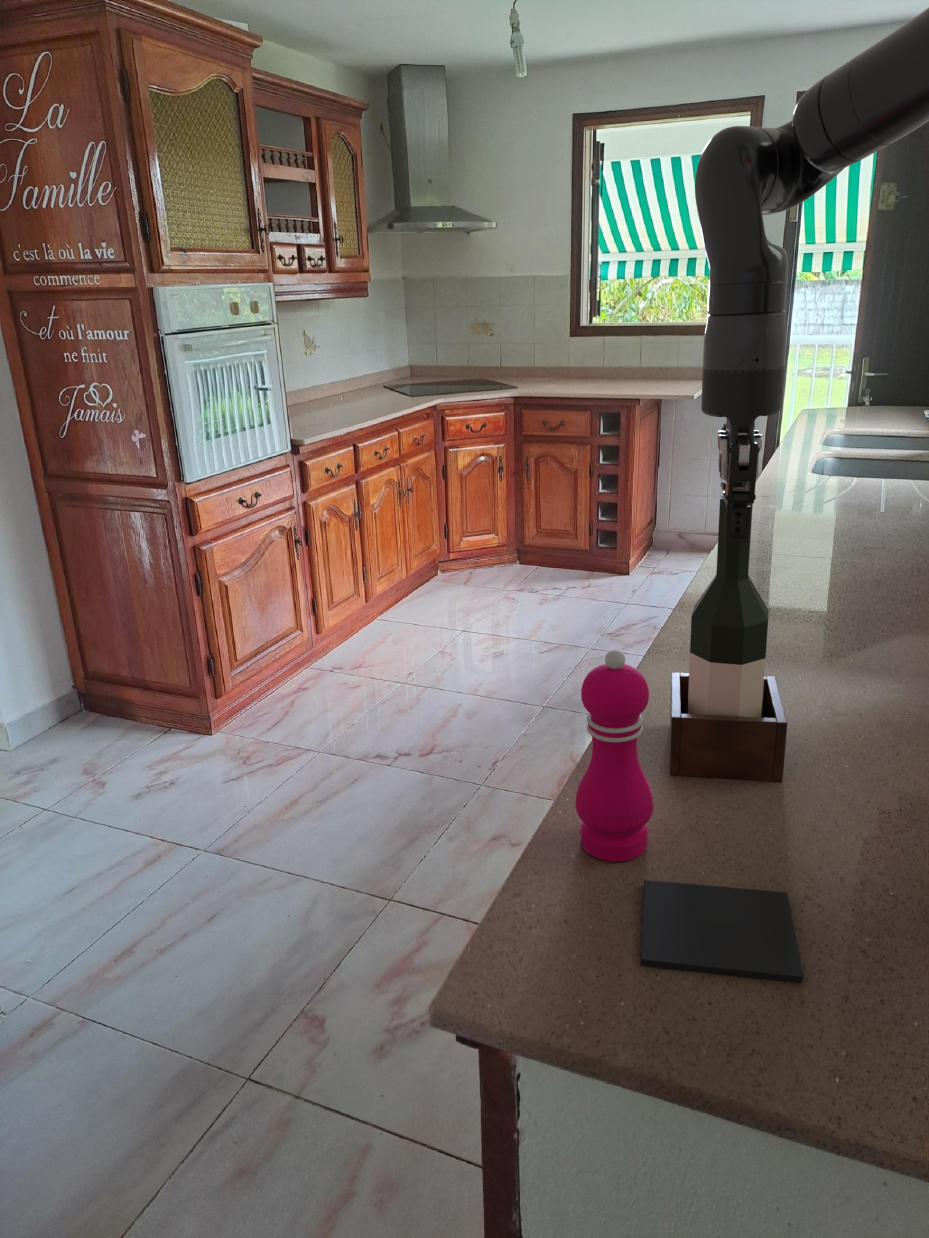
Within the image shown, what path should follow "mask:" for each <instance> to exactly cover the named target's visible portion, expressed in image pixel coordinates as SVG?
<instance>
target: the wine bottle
mask: <svg viewBox="0 0 929 1238" xmlns="http://www.w3.org/2000/svg"><path fill="white" fill-rule="evenodd" d="M733 491H747V488H744V487H734V489H733ZM724 492H725V495H723V494H722V495H720V498H719V511H718V512H719V513H718V532H717V551H716V552H717V553H716V571H715V572H716V574H715V575H714V577H713V579H712V580H711V581H710V583H709V585H708V586H707V588H705V590H704V592H703V593H702V594H701V596H699V599H698V600H697V601H696V603H695V604H694V606H693V609H692V613H691V615H690V616H691V619H690V642H689V643H690V644H689V667H688V668H689V669H688V673H689V692H688V714H695V715H717V716H738V717H760V718H761V714H762V700H763V686H764V676H765V670H766V656H767V643H768V631H769V615H770V614H769V612H770V611H769V608H768V607H767V605H766V603H765V601H764V600H763V598H762V596H761V595H760V593H759V591H758V589H757V587H756V586H755V584H754V582H753V581H752V579H751V577H750V575H749V569H750V554H751V552H750V551H751V538H752V537H751V536H752V523H753V521H752V520H753V507H754V506H753V505H754V504H752V506H750V518H749V535H748V540H747V542H745V543H728V542H727V541H726V540H725V521H726V502H724V497H726V488H725V490H724Z"/></svg>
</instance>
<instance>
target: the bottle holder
mask: <svg viewBox="0 0 929 1238" xmlns="http://www.w3.org/2000/svg"><path fill="white" fill-rule="evenodd" d="M688 692H689V672H671V673H670V701H669V702H670V703H669V775H670V776H682V777H696V778H697V777H699V778H714V779H715V778H716V779H732V780H745V781H746V780H747V781H762V782H763V781H765V782H777V783H781V782H783V780H784V768H785V757H786V756H785V755H786V744H787V733H788V720H787V717H786V713H785V708H784V705H783V702H782V701H783V700H782V698H781V694H780V689H779V686H778V682H777V679H776V676H774V675H764V686H763V700H762V714H761V718H760V717H738V716H717V715H695V714H688Z"/></svg>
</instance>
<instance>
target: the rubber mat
mask: <svg viewBox="0 0 929 1238" xmlns="http://www.w3.org/2000/svg"><path fill="white" fill-rule="evenodd" d="M642 900H643V901H642V923H641V924H642V925H641V944H640V945H641V947H640V965H641V966H644V967H645V966H646V967H653V968H654V967H655V968H665V969H673V970H681V971H690V972H691V971H692V972H701V973H709V974H710V973H711V974H721V975H728V976H737V977H748V978H755V979H756V978H757V979H766V980H776V981H782V982H794V983H803V981H804V974H803V970H802V969H803V968H802V964H801V958H800V954H799V948H798V944H797V943H798V942H797V938H796V937H797V936H796V932H795V927H794V921H793V918H792V917H793V916H792V911H791V906H790V900H789V895H788V892H787V891H786V892H785V891H776V890H762V889H752V888H741V887H730V886H729V887H728V886H719V885H718V886H717V885H706V884H695V883H685V882H684V883H683V882H673V881H672V882H671V881H661V880H660V881H659V880H649V879H644V880H643V897H642Z"/></svg>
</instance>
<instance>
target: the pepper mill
mask: <svg viewBox="0 0 929 1238" xmlns="http://www.w3.org/2000/svg"><path fill="white" fill-rule="evenodd" d="M581 684H582V685H581V689H580V698H581V703H582V705H583V707H584V709H585V710H586V711H587V716H586V722H587V724H586V731H587V733H588V734H589V735H590V736H591V740H592V748H591V758H590V761H589V764H588V766H587V768H586V769H585V772H584V774H583V775H582V778H581V779H580V781H579V784H578V787H577V790H576V796H575V811H576V814H577V815H578V817H579V819H580V820H581V821H582V822H581V825H580V842H581V845H582V848H583V849H584V851H585V852H587V853H588V854H589V855H590V856H592V857H594V858H596V859H598V860H602V861H604V862H612V863H617V862H618V863H621V862H628V861H631V860H634V859H636V858H639V857H640V856H641V855H643V854H644V852H645V851H646V850H647V847H648V826H647V823H648V822H650V819H651V818H652V817H653V813H654V797H653V792H652V789H651V786H650V782H649V780H648V779H647V777H646V774H645V772H644V770H643V768H642V766H641V763H640V759H639V756H638V738H639V737H640V736H641V735H642V733H643V729H644V728H643V722H644V718H643V715H642V713H643V712H644V711H645V709H646V708H647V706H648V704H649V699H650V690H649V684H648V682H647V679H646V678H645V676H644V674H642V672H641V671H640V670H638V669H637V668H635V667H633V666H632V665H629V664H626V657H625V654H624V653H623V652H622V651H621V650H618V649H612V650H609V651H608V652H607V653H606V654H605V656H604V663H603V664H600V665H597V666H596V667H594V668H592V669H591V670H590V671H589V672H588V673H587V675H586V676H585V677H584V679H583V681H582V683H581Z"/></svg>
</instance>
